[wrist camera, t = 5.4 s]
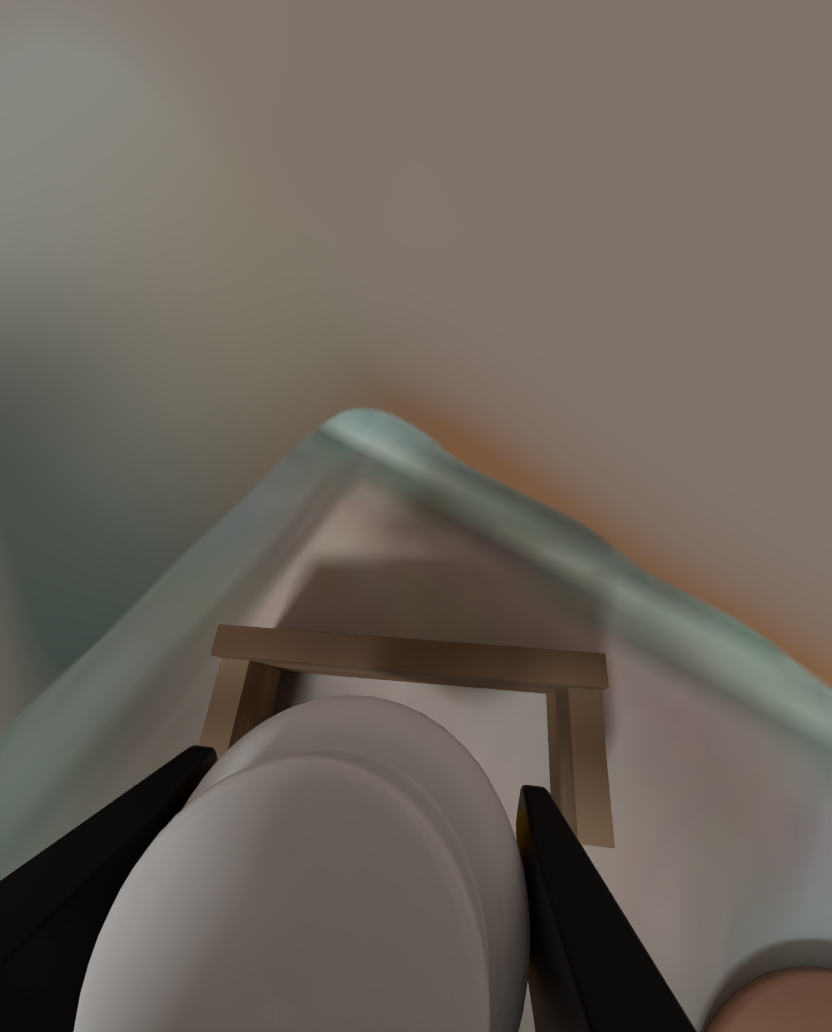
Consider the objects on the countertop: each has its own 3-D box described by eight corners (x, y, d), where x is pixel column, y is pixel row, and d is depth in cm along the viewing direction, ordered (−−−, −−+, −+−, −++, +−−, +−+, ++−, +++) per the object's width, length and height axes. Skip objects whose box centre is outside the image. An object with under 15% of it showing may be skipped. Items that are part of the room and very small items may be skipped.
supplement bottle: (379, 990, 11) (111, 2066, 2) (268, 800, 13) (-110, 953, 4) (524, 822, 13) (725, 1057, 4) (403, 674, 15) (336, 586, 6)
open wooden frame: (580, 823, 18) (625, 856, 14) (232, 784, 19) (168, 802, 15) (570, 669, 21) (605, 653, 16) (264, 644, 22) (218, 624, 18)
